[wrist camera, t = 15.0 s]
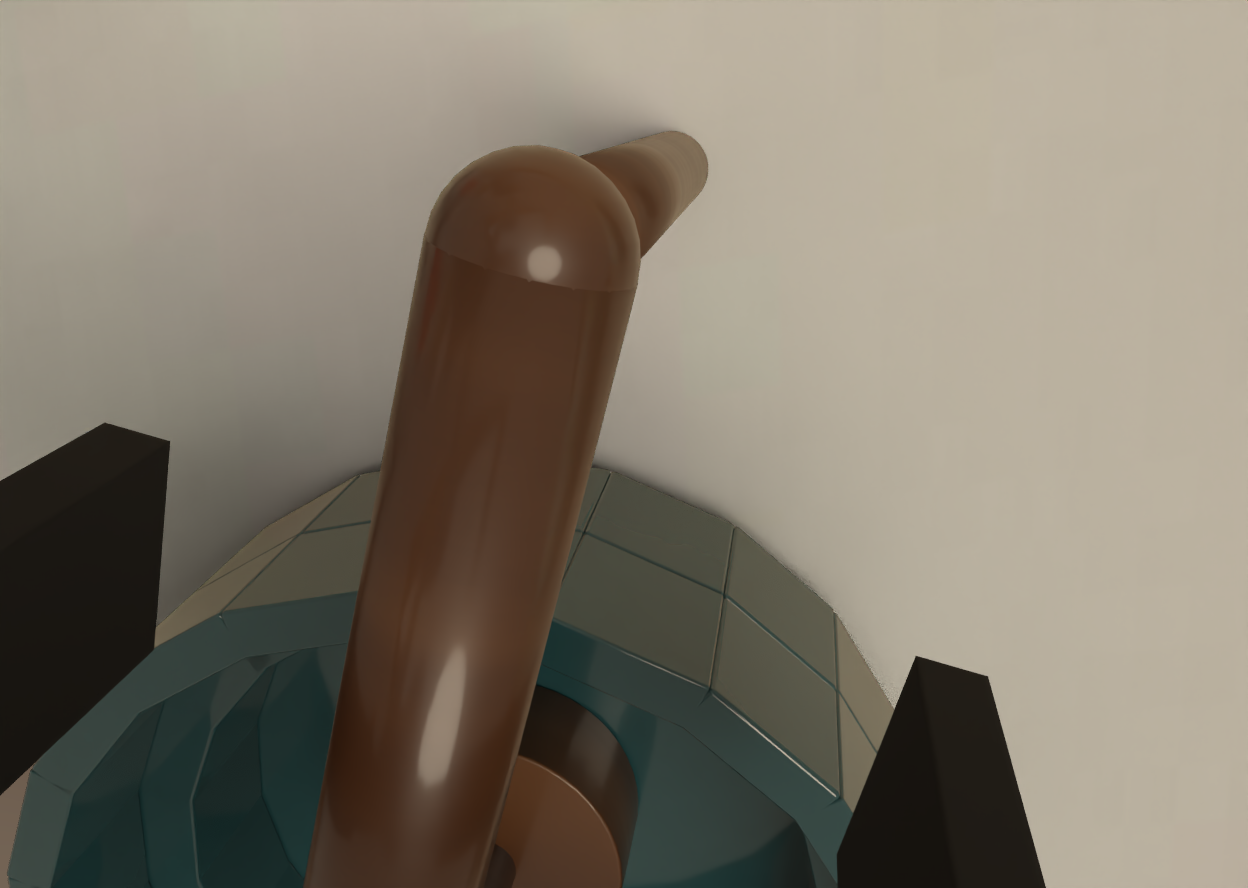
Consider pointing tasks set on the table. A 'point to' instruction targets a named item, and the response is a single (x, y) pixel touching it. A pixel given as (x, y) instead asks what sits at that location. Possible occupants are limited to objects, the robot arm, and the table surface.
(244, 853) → the mixing bowl
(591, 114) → the table surface
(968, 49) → the table surface
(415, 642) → the bent wooden rod
